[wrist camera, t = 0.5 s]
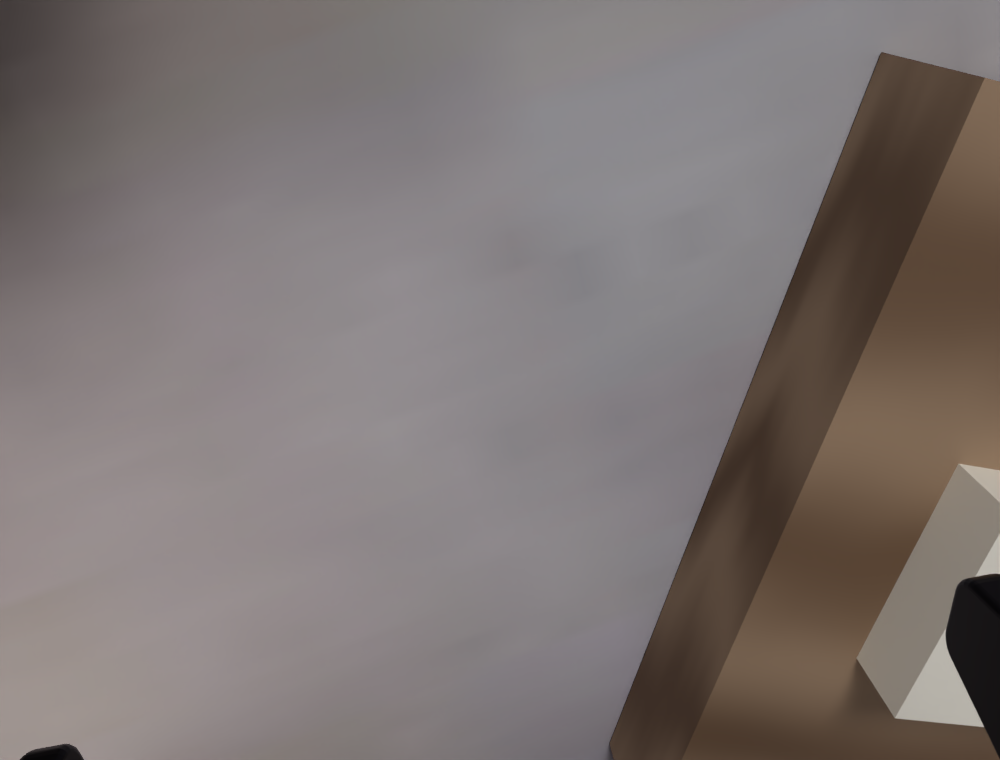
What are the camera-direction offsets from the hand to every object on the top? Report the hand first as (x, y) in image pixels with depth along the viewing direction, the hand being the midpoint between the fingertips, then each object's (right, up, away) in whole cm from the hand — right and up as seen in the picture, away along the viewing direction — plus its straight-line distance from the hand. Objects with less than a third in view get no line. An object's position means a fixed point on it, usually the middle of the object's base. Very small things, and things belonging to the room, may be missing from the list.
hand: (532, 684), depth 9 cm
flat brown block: (+13, 0, +17) cm, 21 cm away
